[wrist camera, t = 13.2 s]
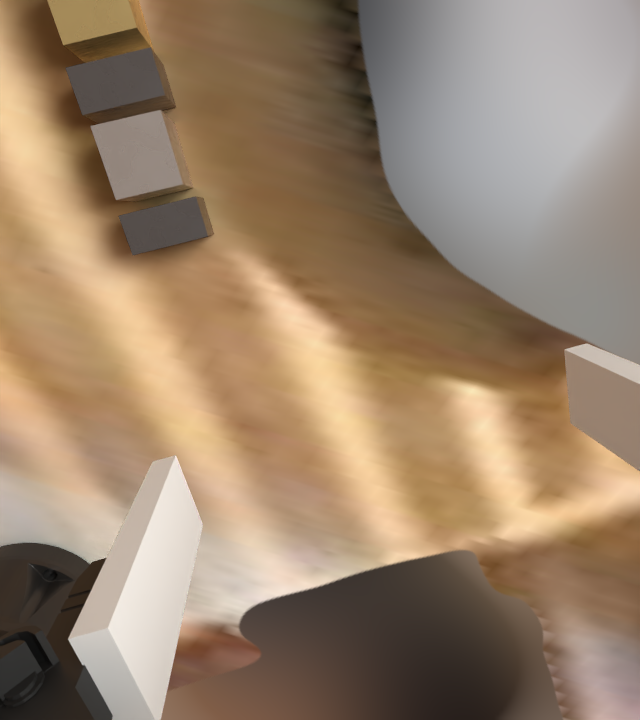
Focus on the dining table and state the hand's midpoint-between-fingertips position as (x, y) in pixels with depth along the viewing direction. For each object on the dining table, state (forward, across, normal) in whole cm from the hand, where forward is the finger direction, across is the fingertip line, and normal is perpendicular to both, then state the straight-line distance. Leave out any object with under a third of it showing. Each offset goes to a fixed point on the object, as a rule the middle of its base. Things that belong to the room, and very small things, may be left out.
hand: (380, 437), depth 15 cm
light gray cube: (+29, -10, +14) cm, 33 cm away
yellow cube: (+29, -9, +24) cm, 38 cm away
